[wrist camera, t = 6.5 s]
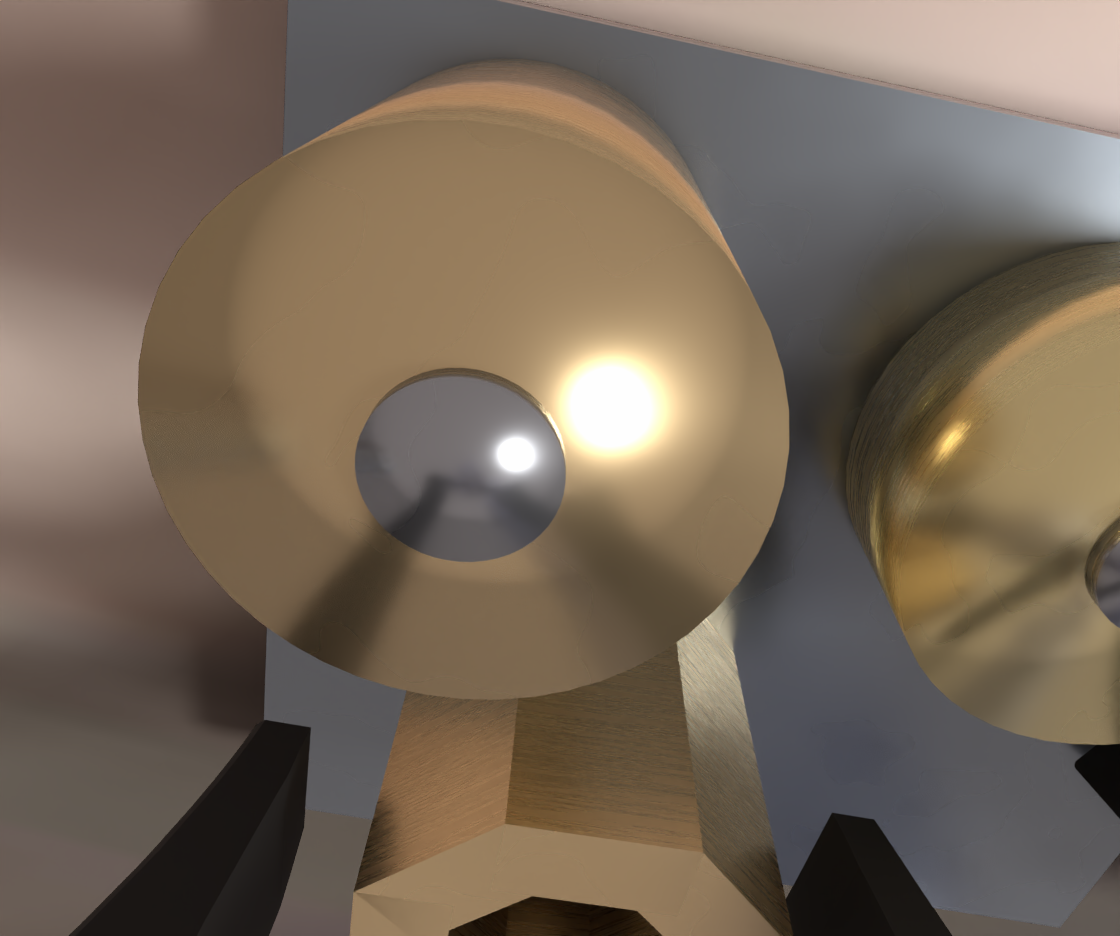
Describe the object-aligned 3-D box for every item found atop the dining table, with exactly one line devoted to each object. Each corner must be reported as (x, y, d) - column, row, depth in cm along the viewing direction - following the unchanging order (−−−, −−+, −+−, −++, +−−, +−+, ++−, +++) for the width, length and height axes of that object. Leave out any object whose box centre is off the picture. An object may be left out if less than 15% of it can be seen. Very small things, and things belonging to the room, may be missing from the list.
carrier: (1026, 861, 19) (1225, 1262, 13) (285, 740, 18) (133, 1119, 12) (1496, 218, 12) (2389, 451, 6) (326, -43, 11) (6, -72, 5)
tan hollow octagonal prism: (681, 796, 16) (714, 1107, 11) (410, 756, 15) (338, 1058, 11) (759, 581, 13) (840, 872, 9) (438, 528, 13) (361, 803, 9)
